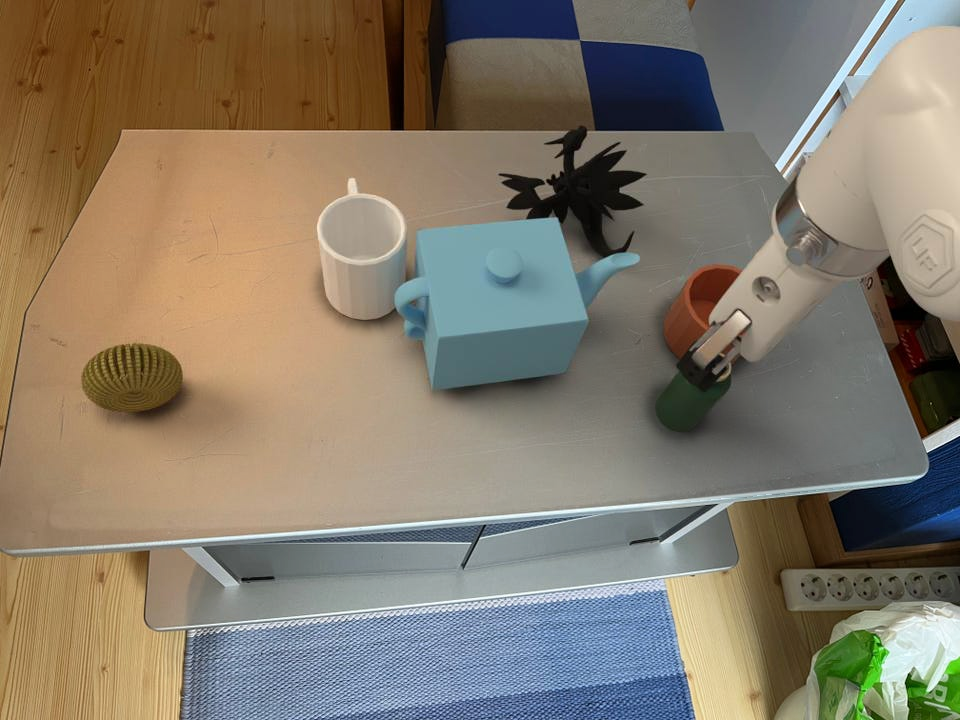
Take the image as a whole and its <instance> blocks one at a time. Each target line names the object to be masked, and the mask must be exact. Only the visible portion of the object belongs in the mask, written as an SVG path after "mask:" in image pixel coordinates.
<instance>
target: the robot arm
mask: <svg viewBox="0 0 960 720" xmlns="http://www.w3.org/2000/svg"><path fill="white" fill-rule="evenodd" d="M770 219H771V228H772V232H773V233H772V234H771V235H770V236H769V238H768V239H767V240H766V242H765V243H763V244H762V247H760V249H759V250H758V251H757V252H756V253H755V254H754V256H753V257H752V259H751V260H750V261H749V262H748V263H747V265H746V266H745V267H744V269H743V270H742V272H741V274H740V275H739V276H738V277H737V279H736V280H735V281H734V283H733V284H732V285H731V286H730V288H729V289H728V290H727V292H726V293H725V294H724V296H723V297H722V298H721V299H720V301H719V302H718V304H717V305H716V306H715V308H714V309H713V311H712V312H711V314H710V316H709V325H710V326H711V325H712V327H711V328H710V329H709V330H708V331H707V332H706V333H705V334H704V335H703V336H702V337H701V338H700V339H699V340H696V341H695V342H694V343H693V344H692V345H691V346H690V347H689V349H688V350H687V351H686V352H685V354H684V355H683V356H682V358H681V359H680V358H679V360H678V361H677V362H676V364H675V367H676V369H677V370H678V372H679V371H680V372H681V373H682V375H683V377H684V378H685V379H686V380H687V381H688V382H689V383H690V384H692V385H695V386H696V387H697V388H698V389H699V390H700V391H701V392H706V391H707V390H708V389H709V388H710V387H711V386H712V385H713V384H714V383H715V382H716V381H717V380H718V379H719V378H720V377H721V376H722V375H723V374H724V373H725V371H726V370H727V369H728V368H727V367H726V365H727V364H728V363H729V362H730V361H731V360H732V359H733V358H734V357H735V356H736V355H737V354H738V353H739V352H740V355H741V357H743V358H744V360H746V361H747V362H748V363H749V362H751V363H752V362H753V363H754V362H759V361H760V360H762V358H764V357H765V356H766V355H767V354H768V353H769V352H770V351H771V350H772V349H774V348H775V347H776V346H777V345H778V344H779V343H780V342H781V341H783V339H785V337H787V336H788V335H789V334H790V333H791V332H792V331H793V330H794V329H795V328H796V327H797V326H798V325H799V324H800V323H802V321H804V319H805V318H807V317H808V316H809V315H810V314H811V313H812V312H813V311H814V310H815V309H816V308H817V307H818V306H819V305H820V304H821V303H822V302H823V301H824V300H825V299H826V298H827V297H828V296H829V295H830V294H831V293H833V291H834V290H835V289H836V288H837V287H838V286H839V285H840V284H841V283H842V282H852V281H857V280H861V279H864V278H866V277H867V276H869V275H871V274H872V273H874V271H876V269H878V268H879V266H880V265H882V263H883V262H885V261H886V260H887V259H888V258H889V257H890V258H891V260H892V263H893V266H894V269H895V271H896V273H897V276H898V278H899V281H901V283H902V285H903V287H904V288H905V289H904V290H906V292H907V293H908V295H909V296H910V297H911V298H912V299H913V301H914V302H915V303H916V304H917V305H918V306H919V307H920V308H922V310H924V311H925V312H927V313H928V314H931V315H932V316H934V317H936V318H938V319H939V318H940V319H942V320H944V321H945V320H946V321H950V322H957V323H960V26H957V25H932V26H927V27H924V28H921V29H918V30H915V31H912V32H911V33H910V34H908V35H906V36H905V37H903V38H901V39H900V40H899V41H898V42H897V43H896V44H894V45H893V46H892V47H891V48H890V49H889V51H888V52H887V53H886V54H885V55H884V57H883V58H882V59H881V61H880V62H879V63H878V64H877V66H876V67H875V68H874V70H873V71H872V72H871V74H869V76H868V78H867V79H866V81H865V82H864V84H863V85H862V86H860V89H859V90H858V91H857V92H856V94H855V95H854V97H853V98H852V100H851V101H850V103H849V104H848V105H847V106H846V108H845V109H844V110H843V111H842V113H841V114H840V116H839V117H838V118H837V120H836V121H835V122H834V124H833V125H832V127H831V128H830V129H829V130H828V132H827V133H826V135H825V136H824V137H823V139H822V140H821V142H820V143H819V144H818V146H817V147H816V148H815V150H814V151H812V154H811V155H810V156H809V158H808V159H807V160H806V162H805V163H804V164H803V166H802V167H801V168H800V170H799V171H798V172H797V174H796V175H795V177H794V178H793V180H792V181H791V182H790V183H789V185H788V186H787V188H786V189H785V190H784V191H783V193H782V194H781V195H780V197H779V198H778V200H777V202H775V204H774V206H773V209H772V211H771V218H770ZM728 318H729V320H728V321H726V320H727V319H728ZM725 321H726V322H725ZM724 322H725V323H724ZM744 330H746V331H745V333H744V334H743V335H742V339H741V338H740V337H739V336H738V335H739V334H740V333H741V332H743V331H744ZM729 344H731V345H732V346H734V348H733V349H732V350H731V351H730V352H729V353H728V354H727V355H726V356H725V357H724V358H722V357H721V356H720V355H719V354H720V353H721V352H722V351H723V350H724V349H725V348H726V347H727V346H728V345H729Z"/></svg>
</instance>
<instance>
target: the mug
mask: <svg viewBox="0 0 960 720" xmlns="http://www.w3.org/2000/svg"><path fill="white" fill-rule="evenodd" d="M346 188H347V189H346V190H347V195H345V196H342V197H339V198H336V199H335V200H333V201H332V202H331V203H330V204H328V205H327V206H326V207H325V208H324V209H323V211H322V212H321V214H320V215H319V217H318V220H317V225H316V234H317V240H318V246H319V247H318V248H319V255H320V264H321V268H322V277H323V285H324V291H325V296H326V299H327V300H328V302H329V304H330V305H331V306H332V307H333V308H334V309H335V310H336V311H337V312H338V313H340V315H343V316H346V317H348V318H350V319H354V320H362V321H368V320H376V319H379V318H382V317H384V316H386V315H389V314H390V313H392V311H393V310H394V309H396V306H395V301H394V298H395V293H396V291H397V289H398V288H399V287H400V286H401V285H403V284H404V283H406V277H407V276H406V273H407V250H408V249H407V247H408V227H407V222H406V217H405V216H404V214H403V212H402V211H401V210H400V208H399V207H398V206H396V205H395V204H394V203H393V202H391V201H390V200H388V199H386V198H384V197H381V196H380V195H376V194H369V193H364V192H363V193H360V188H359V184H358V182H357V180H356V178H355V177H350V178H348V181H347V186H346Z"/></svg>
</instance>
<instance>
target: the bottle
mask: <svg viewBox="0 0 960 720" xmlns="http://www.w3.org/2000/svg"><path fill="white" fill-rule="evenodd" d="M719 355H720V356H721V357H722V358H724V357H725V355H723V354H722V353H720V354H719ZM726 367H727V368H728V369H727V370H726V371H725V373H724V374H723V375H722V376H721V377H720V378H719V379H718V380H717V381H716V382H715V383H714V384H713V385H712V386H711V387H710V388H709V389H708V390H707V391H706V392H701V391H700V390H699V389H698V388H697V387H696V386H695V385H692V384H690V383H689V382H688V381H687V380H686V379H685V378H684V377H683V375H682V373H681V372H680V371H679V370H678V371H677V373H676V374H675V376H674V377H673V378H672V379H671V381H670V382H669V383H668V384H667V386H666V387H665V388H664V390H662V392H661V394H660V395H659V396H658V397H657V399H656V401H655V413H656V416H657V418H658V420H659V421H660V422H661V423H662V425H664V426H665V427H666V428H668V429H669V430H673V431H674V432H686V431H689V430H691V429H693V428H694V427H695V426H696V425H697V424H698V423H699V422H700V421H701V420H702V419H703V418H704V417H705V416H706V415H707V413H708V412H709V411H710V410H711V409H713V407H714V406H715V405H716V404H718V402H719V401H720V400H721V399H722V397H724V396H725V394H727V392H728V391H729V390H730V388H731V386H732V374H731V372H732V364H731V363H730V362H729V363H728V364H727V365H726Z"/></svg>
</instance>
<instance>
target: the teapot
mask: <svg viewBox="0 0 960 720" xmlns="http://www.w3.org/2000/svg"><path fill="white" fill-rule="evenodd" d="M564 237H565V236H564V234H563V230H562V227H561V223H560V222H559V220H558V217H556V216H554V217H549V218H541V219H529V220H526V219H519V220H508V221H507V220H506V221H495V222H485V223H484V222H483V223H474V224H464V225H454V226H453V225H452V226H443V227H442V226H441V227H432V228H425V229H418V230H416V239H415V256H414V273H413V274H414V275H413V278H412V279H410V280H407V281H405V283H404V284H403V285H401V286H400V287H399V288H398V289H397V291H396V293H395V298H394V301H395V306H396V308H395V309H396V311H397V313H398V314H399V315H400V316H401V317H402V318H403V319H404V320H405V321H404V323H403V332H404V333H405V335H406V336H407V337H408V338H409V339H412V340H422V344H423V350H424V356H425V361H426V366H427V372H428V378H429V383H430V388H431V391H440V390H447V389H453V388H454V389H456V388H463V387H469V386H471V387H472V386H477V385H478V386H479V385H485V384H492V383H494V384H495V383H501V382H508V381H514V380H515V381H516V380H523V379H531V378H538V377H545V376H553V375H559V374H560V375H561V374H565V373H566V371H567V369H568V367H569V366H570V365H569V364H570V363H571V361H572V360H573V359H572V358H573V356H574V354H575V352H576V350H577V348H578V347H579V344H580V342H581V339H582V338H583V336H584V333H585V331H586V329H587V327H588V325H589V322H590V320H589V319H590V318H589V316H588V313H587V309H588V308H589V306H590V305H591V304H592V303H593V302H594V300H595V299H596V297H597V295H598V294H599V293H600V291H601V290H602V288H603V287H604V285H606V283H607V282H608V281H609V280H610V279H611V278H612V277H613V276H614V275H616V274H618V273H619V272H622V271H623V270H626V269H629V268H631V267H633V266H635V265H636V264H638V263H639V262H640V259H641V258H640V256H639V255H638V254H637V253H634V252H625V253H618V254H614V255H611V256H609V257H606V258H604V257H603V258H602V259H600V260H599V261H596V262H595V263H593V264H591V265H590V266H589V267H587V268H585V269H584V270H582V271H580V272H578V273H575V270H574V267H573V263H572V260H571V256H570V253H569V251H568V247H567V243H566V240H565V238H564ZM413 301H414V302H415V305H414V304H412V303H411V302H413Z"/></svg>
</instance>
